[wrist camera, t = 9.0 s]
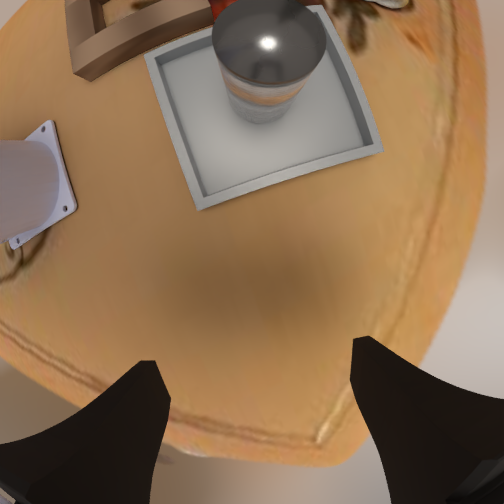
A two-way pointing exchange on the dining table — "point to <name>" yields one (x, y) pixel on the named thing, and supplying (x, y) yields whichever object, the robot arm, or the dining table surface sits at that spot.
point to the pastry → (391, 3)
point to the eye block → (126, 31)
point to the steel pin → (266, 55)
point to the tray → (254, 134)
